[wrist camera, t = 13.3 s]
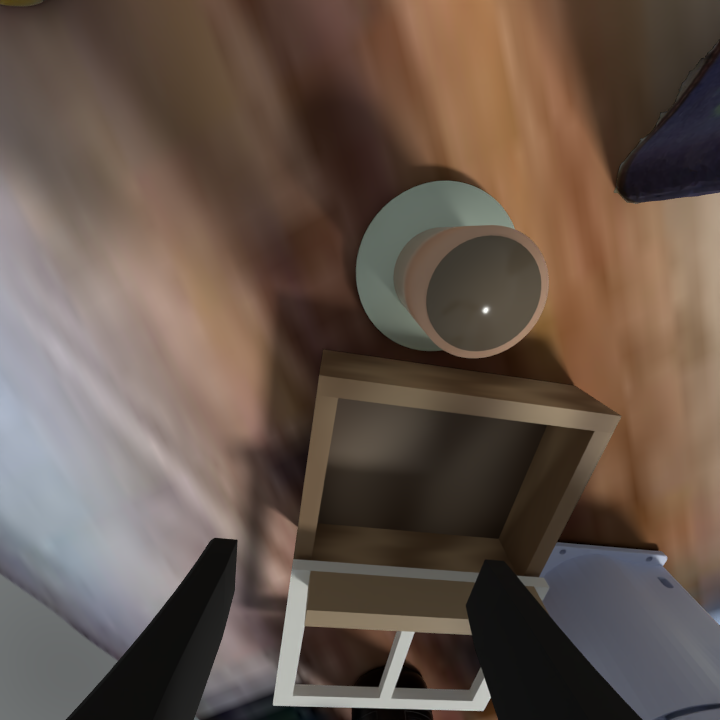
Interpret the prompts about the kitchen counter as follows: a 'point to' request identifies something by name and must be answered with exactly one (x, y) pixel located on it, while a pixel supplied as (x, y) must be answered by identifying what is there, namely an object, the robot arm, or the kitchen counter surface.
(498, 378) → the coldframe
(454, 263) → the brown cylinder
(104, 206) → the kitchen counter surface
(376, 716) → the supplement bottle
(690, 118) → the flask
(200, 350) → the kitchen counter surface
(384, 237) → the saucer
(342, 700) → the frame
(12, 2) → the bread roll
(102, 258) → the kitchen counter surface
